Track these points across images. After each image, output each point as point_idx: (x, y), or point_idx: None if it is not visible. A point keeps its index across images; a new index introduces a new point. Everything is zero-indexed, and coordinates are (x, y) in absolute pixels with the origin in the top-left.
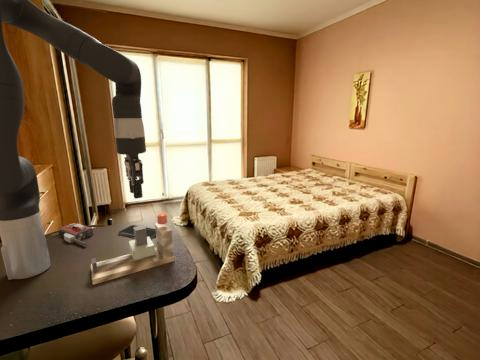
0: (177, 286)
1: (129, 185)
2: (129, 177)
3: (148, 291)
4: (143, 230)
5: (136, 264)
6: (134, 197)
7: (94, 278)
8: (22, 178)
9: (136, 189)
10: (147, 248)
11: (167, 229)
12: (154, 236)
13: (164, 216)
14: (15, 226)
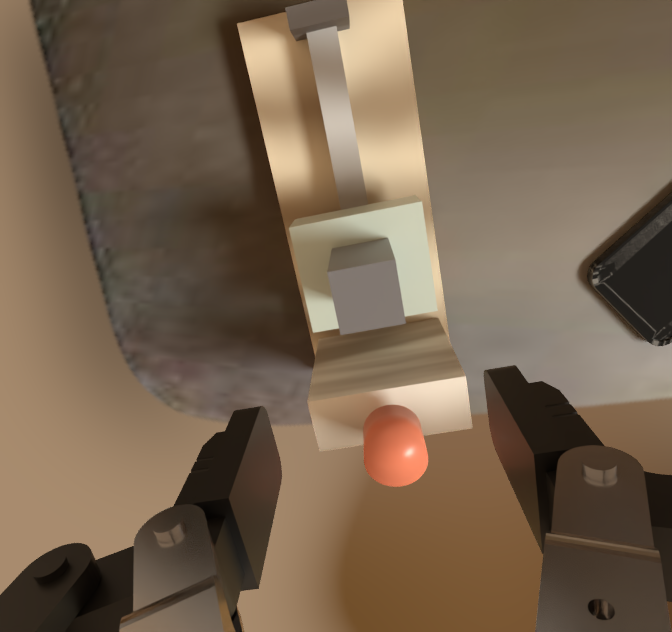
0: (142, 360)
1: (536, 408)
2: (553, 507)
3: (137, 263)
4: (338, 316)
5: None
6: (236, 412)
7: (245, 34)
8: None
9: (182, 503)
10: (306, 297)
11: (340, 433)
12: (613, 306)
13: (368, 471)
14: None
